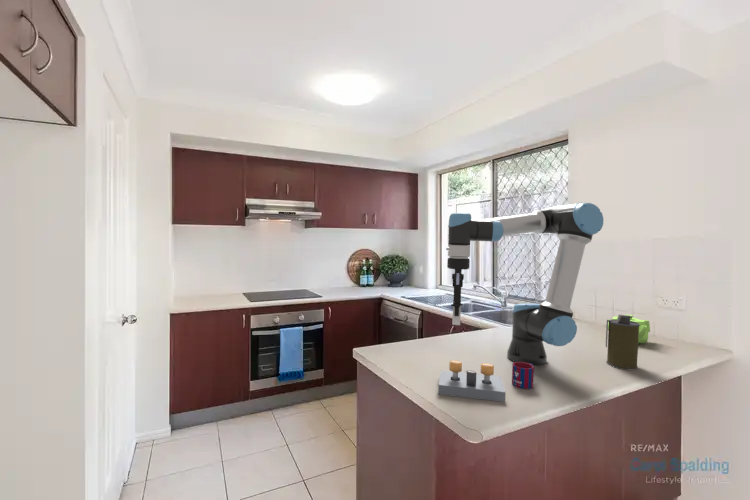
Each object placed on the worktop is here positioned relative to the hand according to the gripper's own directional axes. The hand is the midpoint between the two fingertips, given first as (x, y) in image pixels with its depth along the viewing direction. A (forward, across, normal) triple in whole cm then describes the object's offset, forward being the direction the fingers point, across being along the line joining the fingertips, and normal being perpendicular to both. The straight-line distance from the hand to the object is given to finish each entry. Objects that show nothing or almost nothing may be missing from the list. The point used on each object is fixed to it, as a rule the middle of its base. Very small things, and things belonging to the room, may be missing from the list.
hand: (456, 324), depth 129 cm
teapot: (+19, -72, +83) cm, 112 cm away
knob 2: (+16, +9, +10) cm, 21 cm away
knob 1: (+16, +9, 0) cm, 18 cm away
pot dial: (+16, +12, +5) cm, 21 cm away
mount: (+19, +8, +5) cm, 22 cm away
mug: (+19, -2, +24) cm, 31 cm away
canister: (+19, -33, +65) cm, 75 cm away
